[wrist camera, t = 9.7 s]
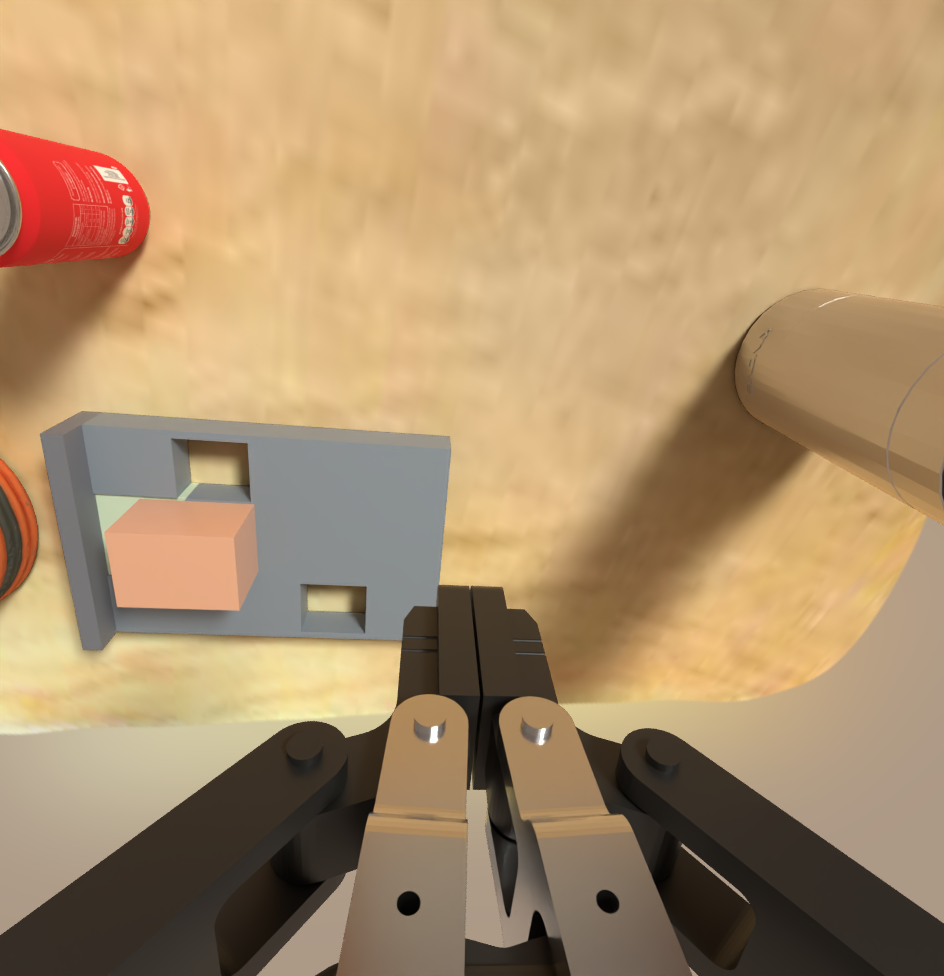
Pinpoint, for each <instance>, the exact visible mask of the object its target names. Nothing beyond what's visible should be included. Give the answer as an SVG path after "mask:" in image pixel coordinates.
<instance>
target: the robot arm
mask: <svg viewBox="0 0 944 976" xmlns="http://www.w3.org/2000/svg"><path fill="white" fill-rule="evenodd" d="M735 385H736V388H737V392H738V396H739V398H740V400H741V402H742V404H743V406H744V407H745V409H746V410H747V411H748V412H749V413H750V414H751V415H752V416H753V417H754V418H756V419H758V420H759V421H761V422H763V423H764V424H766V425H768V426H770V427H771V428H773V429H775V430H777V431H778V432H780V433H782V434H784V435H785V436H787V437H789V438H790V439H792V440H793V441H795V442H797V443H799V444H801V445H802V446H804V447H806V448H808V449H809V450H811V451H813V452H815V453H816V454H818V455H820V456H822V457H823V458H825V459H827V460H829V461H830V462H832V463H834V464H836V465H838V466H839V467H841V468H843V469H845V470H846V471H848V472H850V473H852V474H853V475H855V476H857V477H859V478H860V479H862V480H864V481H866V482H868V483H869V484H871V485H873V486H875V487H876V488H878V489H880V490H882V491H883V492H885V493H887V494H889V495H890V496H892V497H894V498H896V499H898V500H899V501H901V502H903V503H905V504H906V505H908V506H910V507H912V508H914V509H916V510H918V511H919V512H921V513H923V514H925V515H926V516H928V517H930V518H932V519H933V520H935V521H937V522H939V523H941V524H942V525H944V307H942V306H935V305H928V304H921V303H915V302H908V301H901V300H894V299H887V298H881V297H875V296H869V295H862V294H855V293H848V292H841V291H833V290H825V289H814V290H805V291H802V292H799V293H796V294H793V295H790V296H788V297H786V298H784V299H783V300H781V301H779V302H777V303H775V304H774V305H773V306H772V307H771V308H769V309H768V310H767V311H766V312H764V313H763V314H762V315H761V316H760V318H759V319H758V320H757V321H756V322H755V323H754V325H753V326H752V327H751V328H750V330H749V332H748V334H747V335H746V337H745V339H744V340H743V342H742V345H741V348H740V350H739V353H738V356H737V361H736V367H735ZM471 772H472V783H473V789H474V790H486V792H487V803H488V808H487V816H486V823H485V828H486V829H485V830H486V836H487V842H488V849H489V855H490V861H491V867H492V873H493V879H494V885H495V891H496V897H497V903H498V909H499V915H500V921H501V928H502V936H503V948H500V947H495V946H491V945H488V944H484V943H480V942H477V941H473V940H470V939H466V938H465V924H466V923H465V922H466V884H467V883H466V882H467V842H468V822H467V819H466V792H467V790H469V789H470V781H471ZM682 843H683V844H684V845H685V846H686V847H688V848H689V849H690V850H691V851H692V852H694V853H695V854H696V855H697V856H698V857H700V858H701V859H702V860H703V861H704V862H706V863H707V864H708V865H709V866H710V867H712V868H713V869H714V870H715V871H716V872H717V873H719V874H720V875H721V876H722V877H724V878H725V879H726V880H727V881H728V882H729V883H731V884H732V885H733V886H734V887H735V888H737V889H738V890H739V891H740V892H741V893H742V894H743V895H744V896H745V897H746V899H747V900H748V901H749V903H750V904H749V903H748V902H746V901H745V900H744V899H743V898H742V897H740V896H739V895H738V894H737V893H736V892H735V891H733V890H732V889H731V888H730V887H729V886H727V885H726V884H725V883H724V882H723V881H721V880H720V879H719V878H718V877H717V876H715V875H714V874H713V873H712V872H711V871H709V870H708V869H707V868H706V867H705V866H704V865H702V864H701V863H700V862H699V861H698V860H696V859H695V858H694V857H693V856H692V855H691V854H689V853H688V852H687V851H686V850H685V849H683V848H682V847H681V845H682ZM356 869H357V873H356V878H355V883H354V888H353V893H352V898H351V903H350V908H349V914H348V918H347V923H346V929H345V933H344V938H343V944H342V948H341V954H340V959H339V963H337V964H334V965H332V966H330V967H328V968H327V969H325V970H324V971H322V972H320V973H319V974H317V975H316V976H692V973H691V971H690V968H691V969H692V970H693V971H694V972H695V973H696V974H697V975H698V976H944V923H942V922H941V921H939V920H938V919H937V918H935V917H934V916H932V915H931V914H929V913H928V912H927V911H925V910H924V909H922V908H921V907H919V906H918V905H917V904H915V903H914V902H912V901H911V900H910V899H908V898H906V897H905V896H904V895H902V894H901V893H899V892H898V891H897V890H895V889H894V888H892V887H891V886H890V885H888V884H887V883H885V882H884V881H882V880H881V879H880V878H878V877H877V876H875V875H874V874H872V873H871V872H870V871H868V870H867V869H865V868H864V867H863V866H861V865H860V864H858V863H857V862H855V861H854V860H852V859H851V858H850V857H848V856H847V855H845V854H844V853H843V852H841V851H840V850H838V849H837V848H835V847H834V846H833V845H831V844H830V843H828V842H827V841H826V840H824V839H823V838H821V837H820V836H818V835H817V834H816V833H814V832H813V831H811V830H810V829H808V828H807V827H805V826H804V825H803V824H801V823H800V822H798V821H797V820H796V819H794V818H793V817H791V816H790V815H788V814H787V813H786V812H784V811H783V810H781V809H780V808H779V807H777V806H776V805H774V804H773V803H771V802H770V801H769V800H767V799H766V798H764V797H763V796H761V795H760V794H758V793H757V792H756V791H754V790H753V789H751V788H750V787H749V786H747V785H746V784H744V783H743V782H742V781H740V780H739V779H737V778H736V777H734V776H733V775H732V774H730V773H729V772H727V771H726V770H724V769H723V768H722V767H720V766H719V765H717V764H716V763H714V762H713V761H712V760H710V759H709V758H707V757H706V756H704V755H703V754H702V753H700V752H699V751H697V750H696V749H695V748H693V747H691V746H690V745H689V744H687V743H686V742H685V741H683V740H682V739H680V738H678V737H677V736H675V735H673V734H670V733H668V732H665V731H662V730H657V729H651V728H645V729H638V730H636V731H633V732H631V733H629V734H628V735H627V736H626V737H625V738H624V740H623V742H622V744H619V743H615V742H612V741H609V740H605V739H602V738H598V737H595V736H592V735H589V734H587V733H585V732H583V731H581V730H580V729H578V728H577V727H575V725H574V722H573V720H572V718H571V716H570V715H569V714H568V713H567V711H566V710H565V709H563V708H562V707H561V706H560V705H558V701H557V697H556V694H555V690H554V686H553V682H552V678H551V675H550V671H549V667H548V663H547V659H546V656H545V652H544V648H543V644H542V643H541V636H540V633H539V629H538V625H537V623H536V622H535V621H534V620H533V618H532V617H531V616H530V615H529V614H528V613H527V612H526V611H525V610H522V609H507V607H506V601H505V596H504V591H503V588H502V587H485V586H471V588H470V589H469V586H455V585H438V588H437V601H436V607H431V606H414V607H413V608H412V609H411V611H410V612H409V613H408V615H407V616H406V617H405V619H404V623H403V635H402V648H401V661H400V673H399V686H398V698H397V705H396V708H395V710H394V712H393V714H392V715H391V716H390V718H389V719H388V720H387V721H386V722H384V723H383V724H382V725H381V726H379V727H377V728H376V729H374V730H371V731H369V732H366V733H363V734H359V735H356V736H351V737H348V738H345V737H344V735H343V734H342V733H341V732H340V731H339V730H338V729H337V728H335V727H334V726H332V725H329V724H327V723H323V722H317V721H316V722H315V721H308V722H301V723H297V724H293V725H291V726H288V727H286V728H284V729H282V730H281V731H279V732H278V733H276V734H275V735H273V736H272V737H271V738H269V739H268V740H267V741H265V742H264V743H263V744H261V745H260V746H258V747H257V748H256V749H254V750H253V751H252V752H250V753H249V754H247V755H246V756H245V757H243V758H242V759H241V760H239V761H238V762H237V763H235V764H234V765H233V766H231V767H230V768H228V769H227V770H226V771H224V772H223V773H222V774H220V775H219V776H218V777H216V778H215V779H213V780H212V781H211V782H209V783H208V784H207V785H205V786H204V787H202V788H201V789H200V790H198V791H197V792H196V793H194V794H193V795H192V796H190V797H189V798H187V799H186V800H185V801H183V802H182V803H180V804H179V805H178V806H176V807H175V808H174V809H172V810H171V811H170V812H168V813H167V814H166V815H164V816H163V817H161V818H160V819H159V820H157V821H156V822H155V823H153V824H152V825H150V826H149V827H148V828H146V829H145V830H144V831H142V832H141V833H140V834H138V835H137V836H135V837H134V838H133V839H132V840H130V841H129V842H128V843H126V844H124V845H123V846H122V847H120V848H119V849H118V850H116V851H115V852H114V853H112V854H111V855H109V856H108V857H107V858H106V859H104V860H103V861H101V862H100V863H99V864H97V865H96V866H94V867H93V868H92V869H90V870H89V871H88V872H86V873H85V874H83V875H82V876H81V877H79V878H78V879H77V880H75V881H74V882H73V883H71V884H70V885H68V886H67V887H66V888H65V889H63V890H62V891H60V892H59V893H58V894H56V895H55V896H53V897H52V898H51V899H49V900H48V901H47V902H45V903H44V904H42V905H41V906H40V907H38V908H37V909H36V910H34V911H33V912H32V913H30V914H29V915H27V916H26V917H25V918H23V919H22V920H21V921H20V922H18V923H17V924H15V925H14V926H12V927H11V928H10V929H9V930H7V931H6V932H4V933H3V934H1V935H0V976H256V975H257V974H258V973H259V972H260V971H261V970H262V969H263V967H265V966H266V965H267V964H268V962H269V961H270V960H271V959H272V958H273V957H274V956H275V955H276V954H277V953H278V952H279V950H280V949H281V948H282V947H283V946H284V945H285V944H286V943H287V942H288V941H289V940H290V939H291V937H292V936H293V935H294V934H295V933H296V932H297V931H298V930H299V929H300V928H301V927H302V925H303V924H304V923H305V922H306V921H307V920H308V919H309V918H310V917H311V916H312V915H313V914H314V913H315V911H316V910H317V909H318V908H319V907H320V906H321V905H322V904H323V903H324V902H325V901H326V900H327V898H328V897H329V896H330V895H331V894H332V893H333V892H334V891H335V890H336V889H337V887H338V886H339V885H340V883H341V882H342V880H343V879H344V877H345V874H346V873H347V872H350V871H353V870H356ZM689 967H690V968H689Z"/></svg>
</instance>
